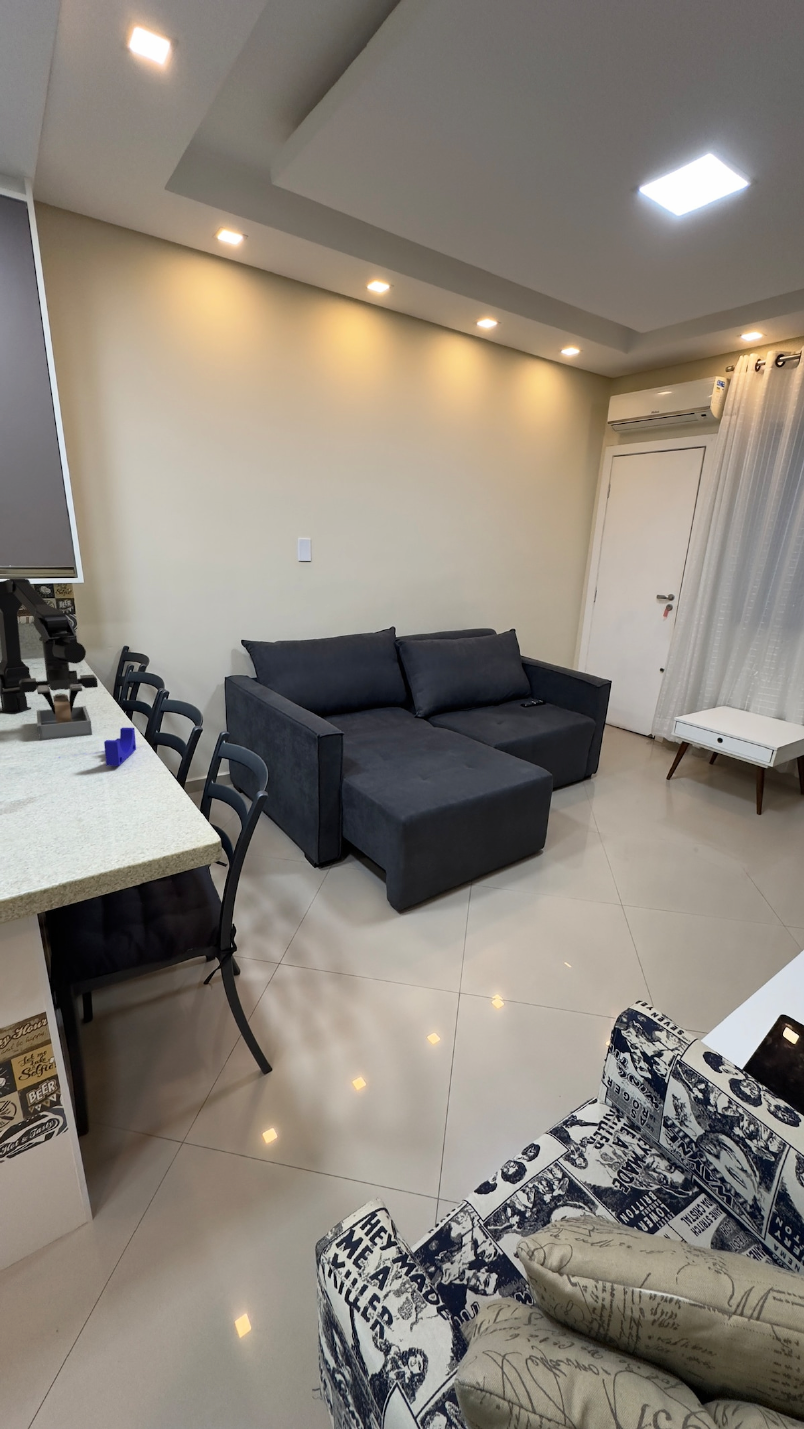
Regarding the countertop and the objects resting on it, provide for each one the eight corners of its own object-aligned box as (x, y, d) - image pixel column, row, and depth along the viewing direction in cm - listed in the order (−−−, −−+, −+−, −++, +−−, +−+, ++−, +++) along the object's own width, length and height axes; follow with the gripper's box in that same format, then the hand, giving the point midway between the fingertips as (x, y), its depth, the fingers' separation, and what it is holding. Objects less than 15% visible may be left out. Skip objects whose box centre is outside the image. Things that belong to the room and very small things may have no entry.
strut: (56, 723, 160) (54, 703, 159) (55, 712, 170) (52, 693, 169) (71, 721, 162) (69, 702, 161) (69, 711, 172) (67, 692, 171)
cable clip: (118, 749, 153) (116, 727, 152) (136, 749, 154) (134, 727, 152) (99, 765, 142) (97, 741, 140) (119, 765, 142) (117, 742, 141)
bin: (38, 723, 171) (36, 710, 170) (86, 718, 178) (85, 706, 177) (39, 740, 157) (37, 726, 156) (92, 734, 163) (90, 721, 162)
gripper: (15, 665, 150) (23, 724, 155) (97, 661, 160) (102, 716, 164) (16, 658, 160) (23, 713, 164) (93, 655, 169) (98, 707, 173)
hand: (62, 712), depth 166 cm, fingers closed on strut, 4 cm apart
